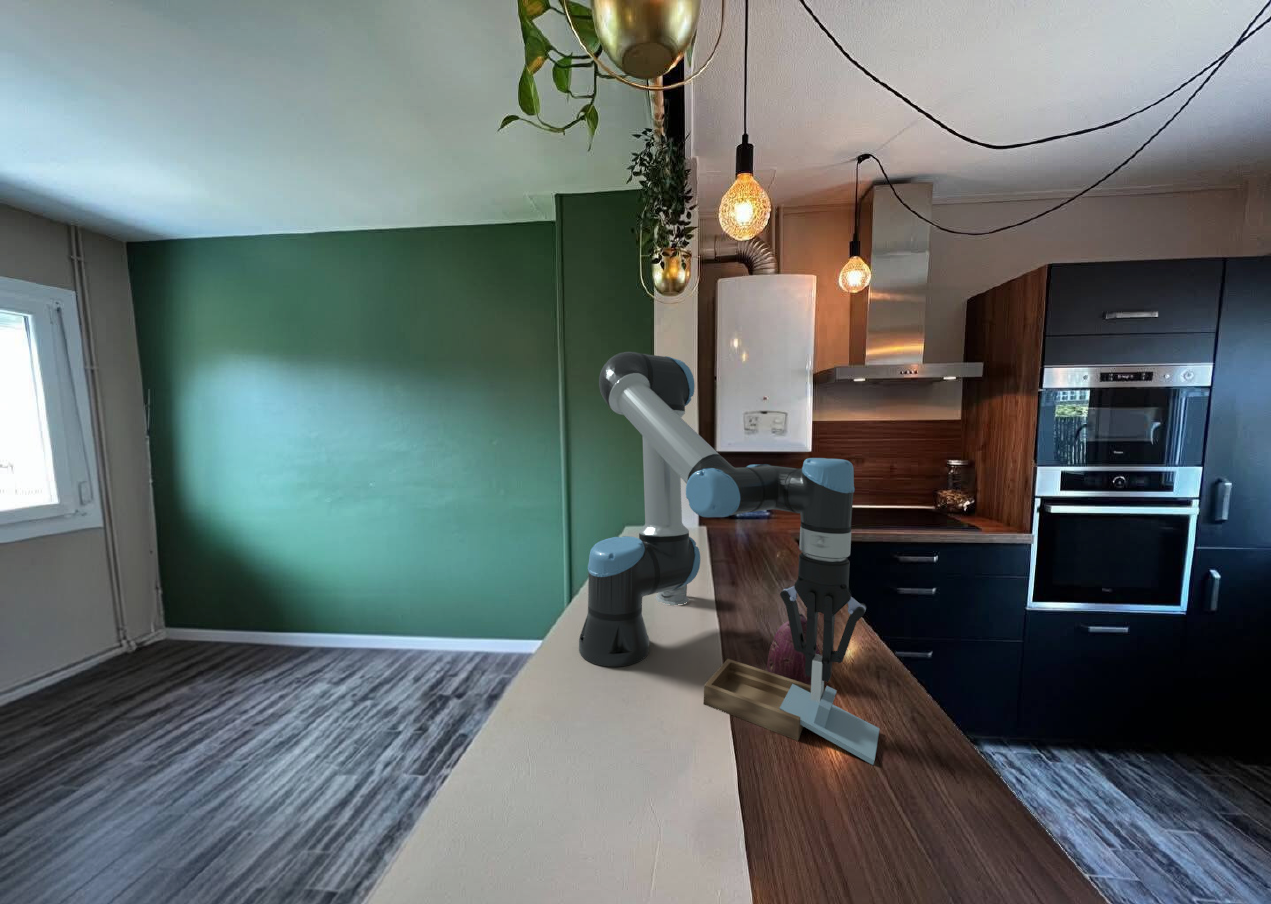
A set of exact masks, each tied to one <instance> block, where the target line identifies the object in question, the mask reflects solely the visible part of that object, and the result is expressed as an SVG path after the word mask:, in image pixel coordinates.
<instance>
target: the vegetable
mask: <svg viewBox="0 0 1271 904" xmlns="http://www.w3.org/2000/svg"><path fill="white" fill-rule="evenodd" d="M799 615H800V620H801V625H802V630H803V635H804V640H805V643H806V629H807V617H806V616H805V615H804V614H803V613H802V612H799ZM816 648H817V650H816V652H815V655H816V654H819V655H821V654H820V650H819V646H818V644H816ZM805 662H806V657H805V655H804V654H803V653H801V652H798V651H796V650H795V649H794V645H793V639H792V634H791V629H790V624H789V620H787V621H786V622H784V623H783V624H782V625H781V624H780V626H779V628H778V629H777V630H776V632H775V635H774V637H773V640H772V642H771V645H770V648H769V651H768V657H767V663H766V664H767V665H766V671H768V672H771V673H774V674H777V675H780V676H783V677H786V678H789V679H792V680H795V681H799V682H802V683H805V684H808V685H811V678H812V677H809V676H806V674H805Z"/></svg>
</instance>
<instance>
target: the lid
mask: <svg viewBox="0 0 1271 904" xmlns="http://www.w3.org/2000/svg"><path fill="white" fill-rule="evenodd" d="M837 691H838V690H837V689H834V688H833V687H830V686H829V685H826V687H825V688H824V691H823V696H822V699H821V701H820V703H819V702H816V701H813V700H810V699H811V693H810V692H808V691H806V690H804V689H802V688H800V687H798V686H796V685H794V684H792V686H791V688H790V689H789V691H788V693H787V695H786V697H785V699H784V701H783V702H782V704H781V706H780V708H779V709H780V710H783V711H785V712H788V713H791V714H794V715H796V716H799V717H801V718H800V725H802V726H804V728H806V729H808V730H809V731H811V732H812V733H815V734H816V735H818V736H820V737H822V738H824V739H825V740H827V741H829V742H831V743H832V744H835V745H836V746H837V747H840V748H841V749H843V750H845V751H847V752H848V753H851V754H852V755H854V756H856V757H858V758H860V759H861V760H863V761H865V762H866V763H869V764H870V765H872V766H874V764H875V759H876V753H877V749H878V741H879V735H880V727H878V726H877V725H874V724H872V723H870V722H868V721H866V720H864V719H862V718H860V717H858V716H856V715H854V713H853V714H852V713H850V712H848V711H846V710H844V709H842V708H841V707H839V706H836V705H835V704H834V700H835V698H836V694H837Z"/></svg>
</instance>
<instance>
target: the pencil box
mask: <svg viewBox="0 0 1271 904" xmlns="http://www.w3.org/2000/svg"><path fill="white" fill-rule="evenodd" d="M792 684H794V685H796V686H798V687H800V688H802V689H804V690H806V691H808V692H810V693H811V685H808V684H805V683H802V682H799V681H795V680H792V679H789V678H786V677H783V676H780V675H777V674H774V673H771V672H768V671H767V670H763V669H761V668H758V667H755V666H751V665H749V664H746V663H742V662H739V661H736V660H733V659H730V658H727V659H726V660H725V661H724V662H723V663H722V665H720V667H719V668H718V669H717V670H716V671H715V672H714V674H713V675H712V676H711V677H710V678H709V679H708V681H707V682H706V683H704V686H703V705H705V706H708V707H710V708H712V707H713V709H715V708H716V709H715V710H718V709H719V710H718V711H720V710H722V711H721V712H723V711H724V712H723V713H725V712H726V714H727V715H731V716H733V717H736V718H738V719H741V720H743V721H746V722H748V723H751V724H754V725H756V726H759V727H761V728H764V729H766V730H769V731H771V732H774V733H776V734H778V735H781V736H784V737H786V738H789V739H792V740H794V741H797V742H798V741H799V740H800V737H801V735H802V733H803V731H804V728H805V727H804V726H802V725H800V718H801V717H799V716H796V715H794V714H791V713H788V712H785V711H783V710H780V709H779V708H780V706H781V704H782V702H783V701H784V699H785V697H786V695H787V693H788V691H789V689H790V688H791V686H792Z"/></svg>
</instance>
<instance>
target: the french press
mask: <svg viewBox="0 0 1271 904" xmlns="http://www.w3.org/2000/svg"><path fill="white" fill-rule="evenodd" d="M687 591H688V584H687V585H684V586H681V587H680V588H677V589H670V590H666V591H662V592H658V593H656V595H655V596H656V600H657V601H658V602H662V603H665V604H670V605H678V604H684V603H686V602H688V601H689V602H690V598H689V597H688V594H687V593H688V592H687ZM688 598H689V599H688ZM656 600H655V601H656ZM657 601H656V602H657ZM658 602H657V603H658ZM689 602H688V603H689ZM684 605H685V604H684Z"/></svg>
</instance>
